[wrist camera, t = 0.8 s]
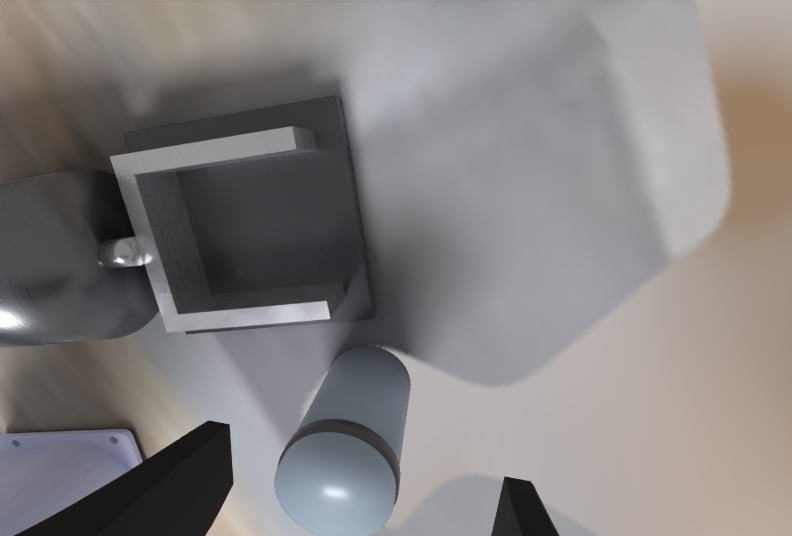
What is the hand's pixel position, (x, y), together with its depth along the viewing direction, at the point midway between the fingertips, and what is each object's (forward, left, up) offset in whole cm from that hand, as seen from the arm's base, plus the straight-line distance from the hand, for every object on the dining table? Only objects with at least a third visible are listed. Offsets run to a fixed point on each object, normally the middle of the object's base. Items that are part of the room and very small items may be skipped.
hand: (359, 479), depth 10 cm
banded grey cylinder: (-2, -3, -10) cm, 11 cm away
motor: (-11, +6, -10) cm, 16 cm away
